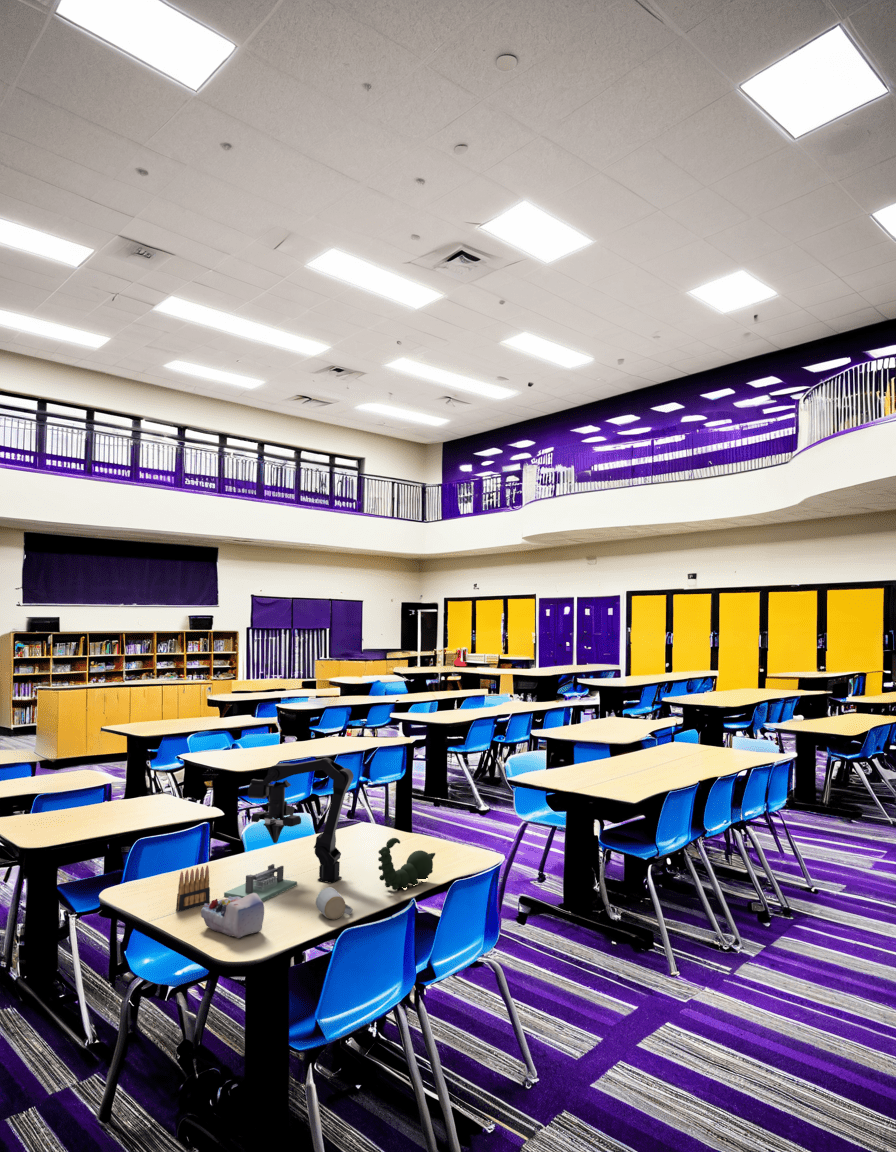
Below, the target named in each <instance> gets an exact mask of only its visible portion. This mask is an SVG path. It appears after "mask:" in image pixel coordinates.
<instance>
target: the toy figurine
mask: <svg viewBox="0 0 896 1152" xmlns="http://www.w3.org/2000/svg"><path fill="white" fill-rule="evenodd" d="M396 844H401V840H399V838H397V837H392V838H390V839H388V840H387V842H386V844H385V845H386V846H383V847H381V848H380V849H379V850H378V854H379V855H380V856H379V857H378V862H380V863H381V864H380V865H379V866H378V870H379V871H382V874H381V875H379V878H378V879H379V880H380V881H384V882H385V883H384V886H385V888H390V887H391V889H392V890H393V891H397V890H398V889H399V888H398V887H403V888H406V887H408V888H409V886H408V885H411V884H413V885H415V884H419V881H418V879H426V878H428V879H429V875H431V874H432V873H433V871H434V870H433V868H434V862H433V859H434V858H435V856H436V852H431V853H428V852H426V851H425V850H421V849H420V850H416V851H413V852H412V853H411V854H410V855H408V857H407V859H406V863H405V864H403V865H401V867H400V868H398V869H395V868H394V866H395V865H394V862H392V861H393V857H392V855H391V849H392V848H393V847H395V845H396Z"/></svg>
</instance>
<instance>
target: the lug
mask: <svg viewBox="0 0 896 1152" xmlns="http://www.w3.org/2000/svg"><path fill="white" fill-rule="evenodd" d="M255 877H256V875H255V874H246V875H245V883H246V887H245V892H246V893H253V878H255Z"/></svg>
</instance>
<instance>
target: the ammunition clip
mask: <svg viewBox="0 0 896 1152" xmlns="http://www.w3.org/2000/svg"><path fill="white" fill-rule="evenodd" d="M200 868H201V869H200V870H199V867H196V869H195V872H194V869H193V868H191V871H190V873H189V870H188V869H186V871H185V875H184V871H182V870H181V872H180V876H179V882H178V889H177V890H178V891H177V892H178V893H177V897H176V905H175V906H176V907H175V911H177V912H184V911H187V910H191V909H194V908H198V907H203V906H204V904H205V903H206V904H211V893H210V892H211V891H210V890H211V888H210V870H209V865H208V864H207V865H206V867H205V869H204V866H201V867H200ZM189 874H190V876H189Z"/></svg>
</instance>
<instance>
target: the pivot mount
mask: <svg viewBox="0 0 896 1152" xmlns="http://www.w3.org/2000/svg"><path fill="white" fill-rule="evenodd" d="M271 868H275V864H274V863H272V864H270V865H267V870H269V869H271ZM276 868H277V872H276V876H277V882H278V883H279V882H281V881H283V879H284V865H279V866H277V867H276ZM270 875H272V876H275V873H272V874H270Z"/></svg>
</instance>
